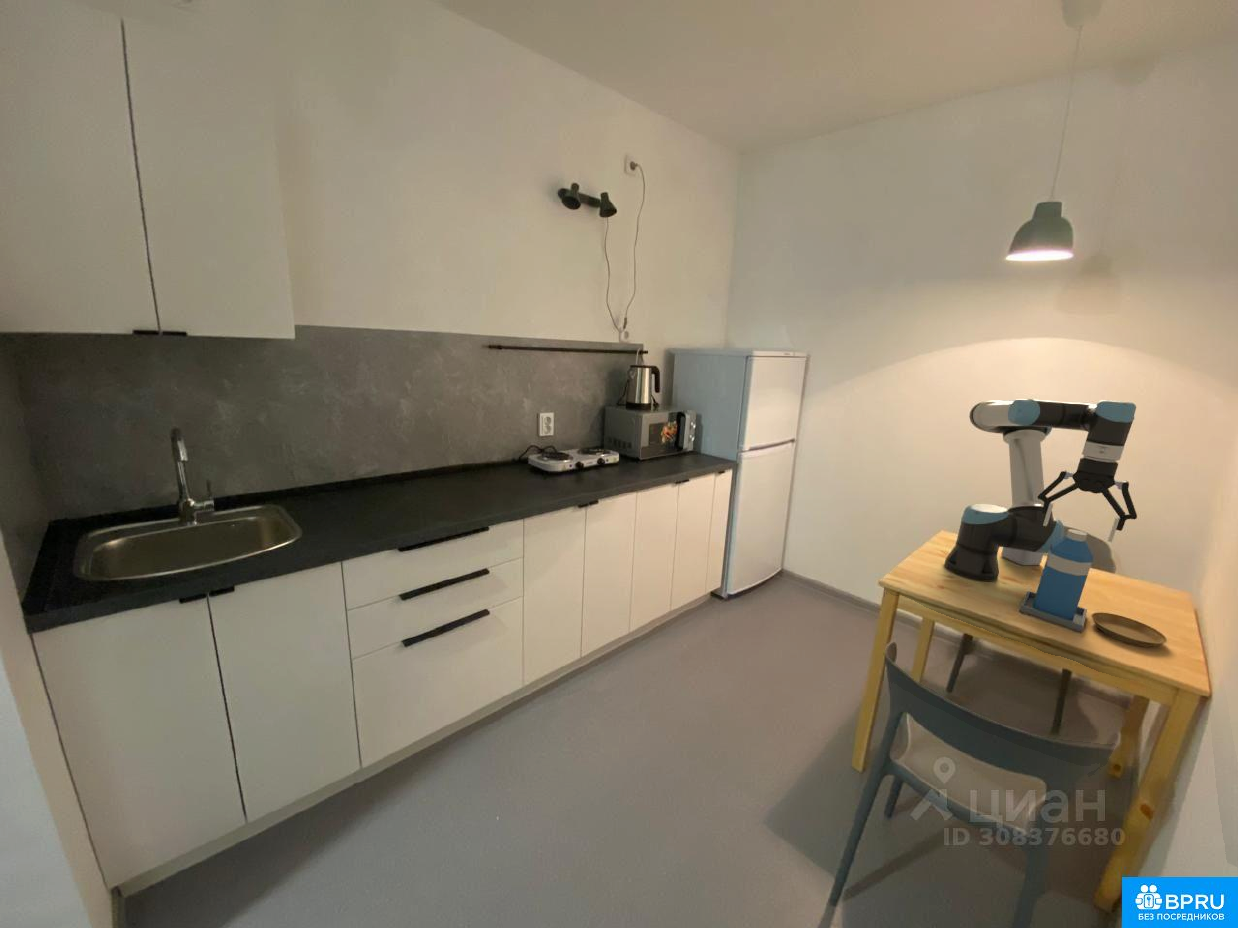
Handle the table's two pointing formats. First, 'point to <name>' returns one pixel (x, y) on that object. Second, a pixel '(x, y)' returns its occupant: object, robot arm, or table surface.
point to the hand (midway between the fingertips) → (1076, 532)
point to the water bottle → (1064, 575)
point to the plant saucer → (1128, 630)
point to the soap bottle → (1022, 556)
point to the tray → (1069, 624)
